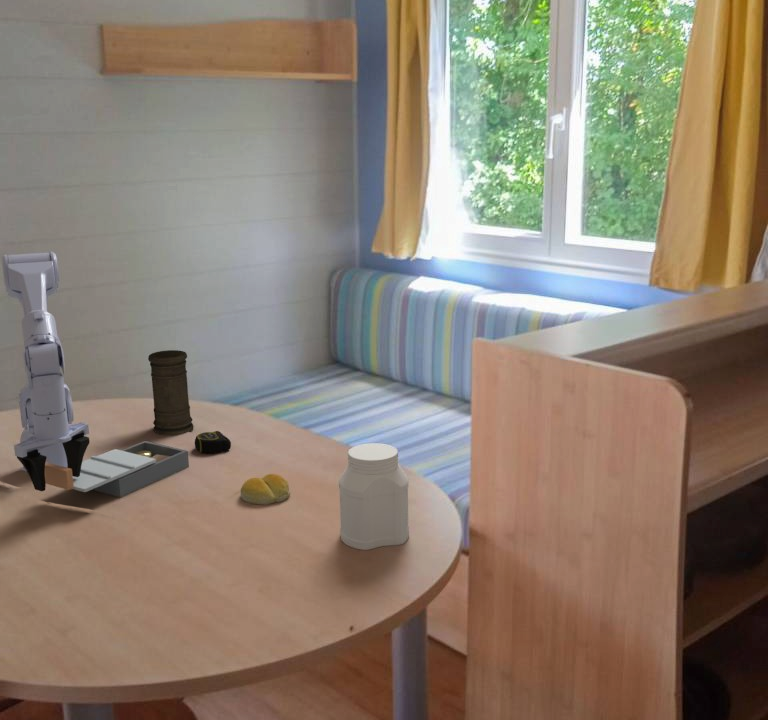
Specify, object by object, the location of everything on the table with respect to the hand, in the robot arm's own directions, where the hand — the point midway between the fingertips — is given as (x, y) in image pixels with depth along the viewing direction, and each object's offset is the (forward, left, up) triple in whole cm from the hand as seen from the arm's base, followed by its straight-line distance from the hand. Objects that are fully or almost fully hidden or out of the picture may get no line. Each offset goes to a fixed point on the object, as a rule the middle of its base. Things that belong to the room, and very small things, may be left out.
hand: (57, 482), depth 168 cm
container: (-14, +43, -6) cm, 45 cm away
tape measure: (+3, +38, -6) cm, 38 cm away
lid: (0, +9, -1) cm, 9 cm away
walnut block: (+2, +22, -5) cm, 23 cm away
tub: (0, +18, -5) cm, 19 cm away
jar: (+55, +20, -6) cm, 59 cm away
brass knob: (-2, +23, -5) cm, 23 cm away
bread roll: (+28, +24, -6) cm, 38 cm away
